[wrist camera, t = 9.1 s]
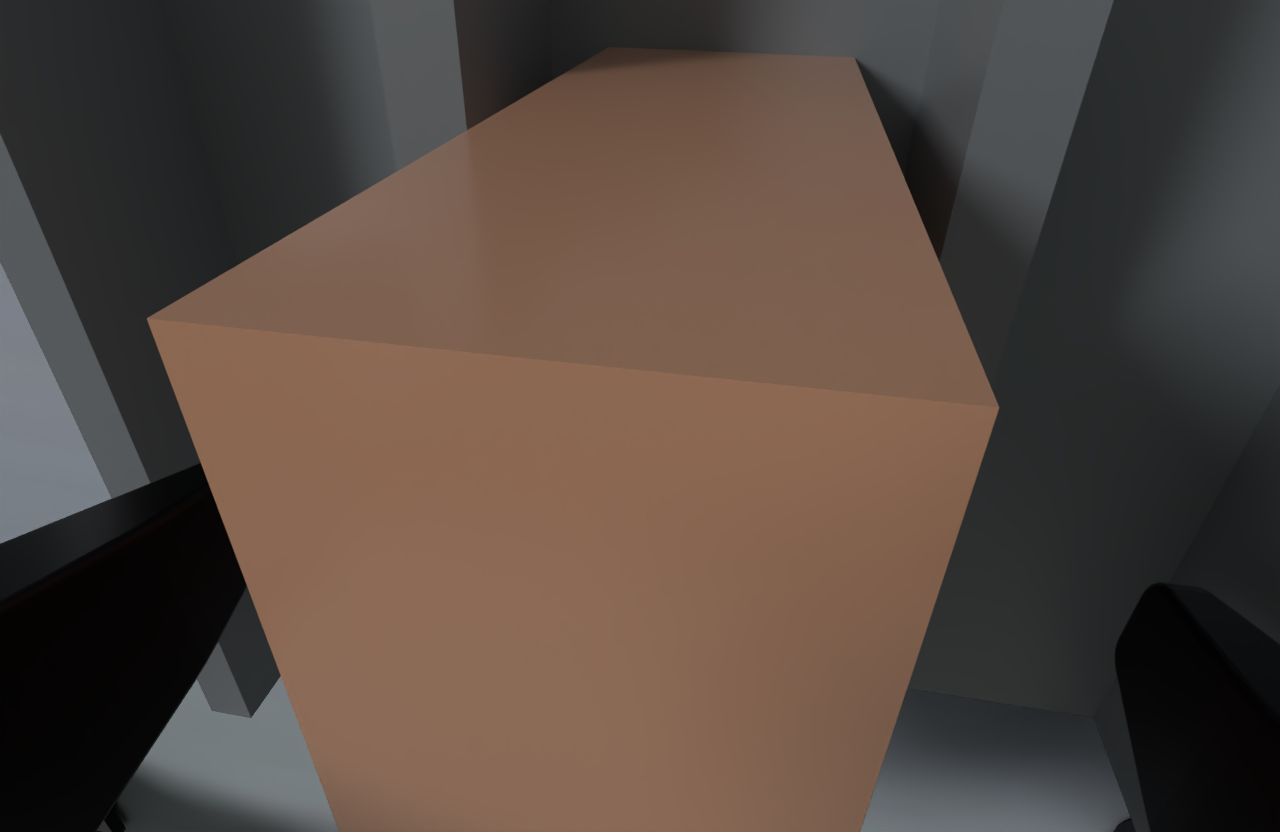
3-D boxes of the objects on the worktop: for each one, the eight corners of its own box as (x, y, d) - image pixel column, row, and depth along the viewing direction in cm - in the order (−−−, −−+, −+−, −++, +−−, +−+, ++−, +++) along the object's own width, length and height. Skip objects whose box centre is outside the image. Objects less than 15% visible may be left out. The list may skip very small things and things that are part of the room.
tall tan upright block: (776, 552, 13) (750, 1164, 7) (611, 529, 14) (433, 1084, 7) (854, 57, 9) (1000, 406, 2) (608, 46, 9) (147, 318, 3)
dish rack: (1128, 697, 14) (1212, 895, 11) (315, 573, 17) (212, 710, 14) (1695, -274, 7) (2384, -433, 4) (68, -248, 9) (-280, -333, 6)
